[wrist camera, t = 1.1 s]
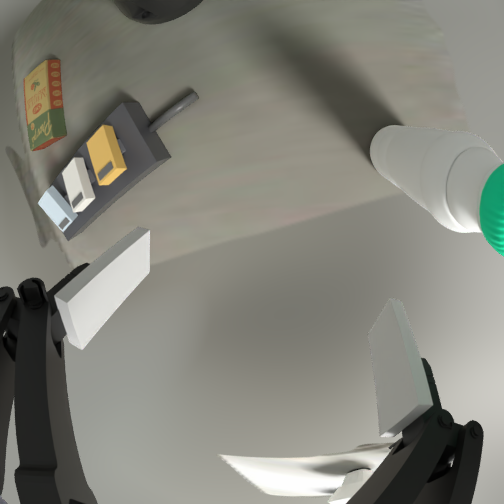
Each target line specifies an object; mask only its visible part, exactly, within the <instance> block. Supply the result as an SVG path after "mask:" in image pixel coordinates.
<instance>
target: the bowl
mask: <svg viewBox="0 0 504 504" xmlns="http://www.w3.org/2000/svg"><path fill="white" fill-rule="evenodd" d="M372 474H373V471H371V470H367V469H360V470H356V471H353V472H350V473H347V474H346V477H345V479H344V482H343V484H342V486H341V487H338V489H337V490H336V491H335V492H334V494H333V495H332V496H331V497H330V499H329V500H328V501H327V502H328V503H331V504H346V503H347V502H348V501H349V500H350V499H351V497H352V496H353V495H354V494H355V493H356V492H357V491H358V490H359V489H360V488H361V487H362V486H363V485H364V483H365V482H366V481H367V480H368V479H369V478H370V477H371V475H372Z"/></svg>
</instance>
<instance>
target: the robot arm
mask: <svg viewBox="0 0 504 504" xmlns="http://www.w3.org/2000/svg"><path fill="white" fill-rule="evenodd" d="M113 1H114V3H115V4H116V5H117V6H118V8H119V9H120V10H121V12H122V13H123V14H124V15H125V16H127V17H128V18H130V19H132V20H135V21H137V22H139V23H143V24H160V23H164V22H168V21H171V20H174V19H176V18H178V17H180V16H182V15H184V14H186V13H187V12H189V11H191V10H192V9H193V8H195V7H196V6H197V5H198V4H200V3H201V2H202V1H203V0H113ZM149 272H150V230H148V229H145V228H141V227H137V228H136V229H134V230H133V231H132V232H130V233H129V234H128V235H126V236H125V237H124V238H123V239H121V240H120V241H119V242H117V243H116V244H115V245H114V246H112V247H111V248H110V249H108V250H107V251H106V252H105V253H103V254H102V255H101V256H100V257H99V258H97V259H96V260H95V261H94V262H92V263H91V264H89V263H85V264H82V265H80V266H78V267H76V268H75V269H74V270H73V271H72V272H70V274H68V275H67V276H66V277H65V278H63V279H62V280H61V281H60V282H59V283H58V284H56V285H55V286H54V287H53V288H52V289H50V290H49V291H48V292H46V290H45V285H44V282H43V281H42V280H41V279H39V278H30V279H26V280H25V281H23V282H22V283H21V284H20V285H19V286H18V288H17V290H18V293H19V296H20V298H17V297H15V294H14V291H13V289H12V288H10V287H1V288H0V504H7V502H6V501H5V500H3V499H2V497H1V494H2V490H3V484H4V474H5V458H6V444H7V436H8V428H9V421H10V415H11V409H12V404H13V399H14V405H15V425H16V436H17V445H18V453H19V459H20V465H19V467H18V468H17V469H16V470H15V474H14V476H15V483H16V487H17V492H18V496H19V500H20V504H97V501H96V498H95V496H94V494H93V492H92V491H91V489H90V488H89V486H88V484H87V482H86V479H85V476H84V473H83V469H82V465H81V462H80V458H79V454H78V450H77V446H76V441H75V437H74V431H73V426H72V421H71V415H70V408H69V401H68V393H67V384H66V373H65V360H64V342H63V338H64V336H65V335H66V334H67V337H68V339H69V342H70V343H71V344H73V345H74V346H76V347H78V348H79V349H81V350H83V348H84V347H85V346H86V345H87V344H88V342H89V341H90V340H91V339H92V337H93V336H94V335H95V334H96V333H97V331H98V330H99V329H100V328H101V327H102V325H103V324H104V323H105V322H106V320H107V319H108V318H109V317H110V316H111V315H112V314H113V313H114V311H115V310H116V309H117V308H118V307H119V305H120V304H121V303H122V302H123V301H124V300H125V299H126V298H127V297H128V295H129V294H130V293H131V292H132V291H133V290H134V289H135V288H136V286H137V285H138V284H139V283H140V282H141V281H142V280H143V279H144V278H145V277H146V275H147V274H148V273H149ZM4 332H6V333H5V335H4V337H3V334H4ZM368 339H369V345H370V352H371V358H372V365H373V372H374V380H375V388H376V397H377V408H378V419H379V433H380V437H394V436H396V435H397V434H399V433H400V432H401V431H402V436H403V437H402V438H401V439H399V440H398V441H397V442H395V443H394V444H392V445H391V446H390V447H389V449H391V448H392V447H393V449H392V450H391V452H390V453H389V454H388V456H387V457H386V458H385V459H384V461H383V462H382V463H381V464H380V466H379V467H378V468H377V469H376V471H375V472H374V473H373V474H372V475H371V477H370V478H369V479H368V480H367V481H366V482H365V483H364V485H363V486H362V487H361V488H360V489H359V490H358V491H357V492H356V493H355V494H354V495H353V496H352V497H351V499H350V500H349V501H348V502H347V503H346V504H471V503H472V499H473V495H474V491H475V486H476V482H477V477H478V472H479V467H480V460H481V454H482V446H483V429H482V427H481V425H480V424H479V423H478V422H477V421H474V420H472V421H469V422H468V423H467V424H466V425H464V426H463V425H460V424H457V423H454V419H453V417H452V415H451V414H450V413H449V412H448V411H446V410H444V409H442V407H441V403H440V399H439V395H438V391H437V387H436V384H435V380H434V377H433V373H432V370H431V367H430V365H429V364H428V362H427V360H426V359H425V358H421V357H420V354H419V351H418V347H417V344H416V341H415V338H414V335H413V332H412V329H411V326H410V323H409V321H408V318H407V315H406V312H405V309H404V307H403V304H402V301H401V300H397V299H393V298H389V300H388V302H387V303H386V305H385V307H384V308H383V310H382V312H381V314H380V315H379V317H378V318H377V320H376V322H375V323H374V325H373V326H372V328H371V330H370V331H369V333H368ZM452 461H453V465H452V467H451V462H452Z"/></svg>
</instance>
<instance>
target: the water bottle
mask: <svg viewBox="0 0 504 504" xmlns="http://www.w3.org/2000/svg"><path fill="white" fill-rule="evenodd" d="M370 157H371V160H372V163H373V165H374V167H375V169H376V170H377V171H378V172H379V173H380V174H381V175H382V176H383V177H385V178H386V179H388V180H389V181H390V182H392V183H393V184H394V185H396V186H397V187H399V188H401V189H402V190H403V191H404V192H405V193H406V194H407V195H408V196H409V197H410V198H412V199H413V200H414V201H415V202H417V203H418V204H419V205H421V206H422V207H423V208H425V209H426V210H427V211H429V212H430V213H431V214H432V215H433V217H434V218H435V219H436V220H437V221H438V222H439V223H440V224H442V225H443V226H445V227H446V228H448V229H450V230H453V231H456V232H463V233H466V232H467V233H468V232H481V233H482V234H483V235H484V237H485V238H486V240H487V241H488V243H489V244H490V245H491V246H492V247H493V248H494V249H495V250H496V251H497V252H498V253H499V254H501V255H502V256H504V162H503V161H502V160H501V159H500V158H499V157H498V156H497V154H496V153H495V151H494V150H493V149H492V147H491V146H490V145H489V144H488V143H487V142H486V141H485V140H483V139H482V138H480V137H479V136H477V135H475V134H473V133H470V132H466V131H449V130H445V129H439V128H429V127H412V126H399V125H391V126H387V127H384V128H382V129H381V130H379V131H378V132H377V133H376V134H375V136H374V137H373V139H372V142H371V145H370Z"/></svg>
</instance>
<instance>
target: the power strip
mask: <svg viewBox="0 0 504 504" xmlns="http://www.w3.org/2000/svg"><path fill="white" fill-rule="evenodd" d="M197 99H199V96H198V95H197V93H196V92H194V91H193V92H192V93H191V94H189V95H188V96H186V97H185V98H184V99H182V100H181V101H179V102H178V103H177V104H175V105H174V106H173V107H171V108H170V109H169V110H167V111H166V112H165V113H164V114H162V115H161V116H160V117H159V118H157V119H156V120H155V121H154V122H152V123H151V122H150V121H149V119H148V117H147V115H146V114H145V112H144V110H143V109H142V107H141V105H140V103H138V102H122V103H121V104H120V105H119V106H118V107H117V108H116V109H115V110H114V111H113V112H112V113H111V114H110V115H109V116H108V117H107V118H106V119H105V120H104V121H103V122H102V123H101V124H100V126H99V127H98V128H97V129H96V130H95V131H94V132H93V133H92V134H91V135H90V137H89V138H88V139H87V140H86V141H85V142H84V143H83V145H82V146H81V147H80V148H79V149H78V151H77V152H76V153H75V154H74V155H73V157H72V158H71V159H70V160H69V162H68V163H67V164H66V166H65V167H64V168H63V170H62V171H61V172H60V174H59V175H58V176H57V178H56V179H55V180H54V182H53V183H52V185H53V186H54V187H55V189H56V190H57V191H58V192H59V193H60V195H61V196H62V197H63V198H64V199H65V201H66V202H67V203H68V204H69V205H70V206H71V204H70V200H69V197H68V193H67V190H66V186H65V183H64V179H63V175H62V172H63V171H64V170H65V168H66V167H67V166H68V164H69V163H70V162H71V161H72V159H73V158H83V159H84V163H85V166H86V169H87V173H88V176H89V179H90V183H91V186H92V189H93V192H94V195H95V199H94V200H93V201H92V202H91V203H90V204H89V205H88V206H87V207H86V208H85V209H84V210H83V211H81V212H76V213H77V214H78V216H77V217H76V218H75V220H74V221H73V222H72V223H71V224H70V225H69V226H68V227H67V228H66V230H65V231H64V232H63V234H64V235H65V237H66V239H67V240H68V241H69V240H71V239H72V238H74V237H75V236H77V235H78V234H80V233H82V232H83V231H84V230H85V229H86V228H87V227H88V226H89V225H90V224H91V223H92V222H93V221H94V220H95V219H96V218H97V217H99V216H100V215H101V214H102V213H103V212H104V211H105V210H106V209H107V208H109V207H110V206H111V205H112V204H113V203H114V202H115V201H117V200H118V199H119V198H120V197H121V196H122V195H124V194H125V193H126V192H127V191H128V190H130V189H131V188H132V187H133V186H134V185H136V184H137V183H138V182H139V181H141V180H142V179H143V178H144V177H146V176H147V175H148V174H150V173H151V172H152V171H153V170H155V169H156V168H157V167H159V166H160V165H161V164H163V163H164V162H165V161H167V160H168V159H169V158H171V156H170V154H169V153H168V151H167V149H166V148H165V146H164V144H163V143H162V141H161V139H160V138H159V136H158V134H157V132H156V131H155V130H157V129H158V128H159V127H161V126H162V125H163V124H164V123H166V122H167V121H168V120H170V119H171V118H172V117H173V116H175V115H176V114H178V113H179V112H180V111H182V110H183V109H184V108H186V107H187V106H189V105H190V104H191V103H193V102H194V101H196V100H197ZM102 125H108V126H113V129H114V133H115V136H116V139H117V142H118V145H119V148H120V150H121V153H122V156H123V159H124V162H125V165H126V167H127V169H126V170H125V171H124V172H123V173H121V174H120V175H119V176H118V177H117V178H116V179H115V180H114V181H113V182H112V183H110V184H109V185H99V183H98V180H97V177H96V174H95V171H94V168H93V164H92V161H91V158H90V154H89V151H88V147H87V142H88V140H89V139H90V138H91V137H92V136H93V135H94V134H95V133H96V132H97V131H98V129H99V128H100V127H101V126H102ZM52 185H51V186H52ZM51 186H50V187H51ZM50 187H49V188H50ZM71 208H72V207H71Z"/></svg>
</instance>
